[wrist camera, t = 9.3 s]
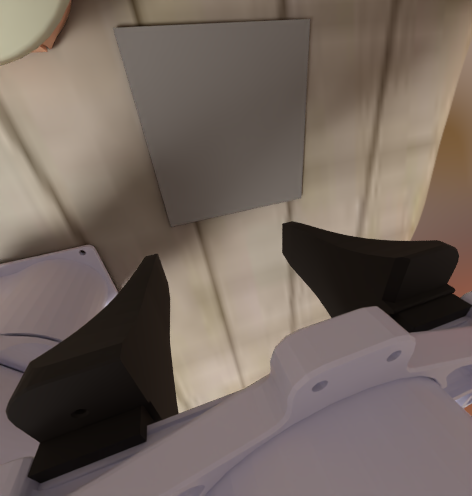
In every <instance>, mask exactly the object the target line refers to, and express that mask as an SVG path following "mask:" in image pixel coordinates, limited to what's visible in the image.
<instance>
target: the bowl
mask: <svg viewBox="0 0 472 496" xmlns="http://www.w3.org/2000/svg"><path fill="white" fill-rule="evenodd" d="M71 2H72V0H70V1H69V4H68V6H67V8H66V10H65V13H64V15H63V17H62V19H61V21H60V23H59V24H58V25H57V27H56V28H55V30H54V31H53V33H52V34H51V36H50V37H49V38H48V39H47V40H45V41H44V42H43V43H42V44H41V45H40V46H39V47H38V48H37V49H35V50H34V51H32V52H48V51H47V48H46V46H47V47H48V48H50V49H51V48H52V46H53V44H54V41H55V39H56V37H57V35H58V34H59V33H60V32H61V30H62V28H63V26H64V25H65V23H66V21H67V18H68V15H69V12H70V8H71Z"/></svg>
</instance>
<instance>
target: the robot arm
mask: <svg viewBox="0 0 472 496" xmlns="http://www.w3.org/2000/svg"><path fill="white" fill-rule="evenodd" d="M81 250H83V251H85V252H86V253H81V252H80V251H81ZM282 253H283V255H284V256H285V258H286V260H287V261H288V263H289V264H290V266H291V267H292V268H293V269H294V270H295V271H296V273H297V274H298V275H299V276H300V277H301V278H302V279H303V281H304V282H305V283H306V284H307V285H308V286H309V287H310V288H311V290H312V291H313V292H314V293H315V294H316V296H317V297H318V298H319V300H320V301H321V303H322V304H323V306H324V307H325V308H326V310H327V311H328V313H329V315H330V316H331V319H328V320H325V321H322V322H319V323H316V324H313V325H310V326H307V327H304V328H302V329H299V330H297V331H295V332H293V333H291V334H289V335H288V336H286V337H285V338H284V339H283V340H282V341H281V342H280V343H279V344H278V345H277V346H276V347H275V349H274V351H273V354H272V357H271V360H270V367H271V372H270V374H268V375H266V376H265V377H263V378H261V379H260V380H258V381H256V382H255V383H253V384H251V385H250V386H248V387H246V388H245V389H242V390H240V391H237V392H234V393H232V394H229V395H227V396H224V397H221V398H219V399H216V400H213V401H211V402H208V403H206V404H203V405H200V406H198V407H195V408H192V409H190V410H187V411H185V412H182V413H179V414H178V407H177V400H176V392H175V384H174V376H173V367H172V358H171V348H170V294H169V287H168V282H167V279H166V276H165V273H164V270H163V268H162V265H161V262H160V259H159V256H158V254H154V255H150V256H146V257H145V258H144V260H143V261H142V263H141V264H140V265H139V267H138V268H137V270H136V271H135V273H134V274H133V276H132V277H131V278H130V280H129V281H128V282H127V283H126V285H125V286H124V287H123V288H122V290H121V291H120V292H119V293H118V291H117V289H116V287H115V285H114V283H113V281H112V279H111V277H110V276H109V274H108V272H107V270H106V268H105V266H104V264H103V262H102V260H101V258H100V256H99V254H98V253H97V251H96V249H95V247H94V246H92V245H84V246H80V247H75V248H71V249H66V250H62V251H57V252H53V253H48V254H43V255H39V256H34V257H30V258H25V259H21V260H16V261H12V262H7V263H3V264H0V496H472V416H471V415H470V414H468V413H467V412H466V411H465V410H464V409H463V408H465V407H467V406H468V405H470V404H472V291H471V292H468V293H466V294H464V295H463V296H462V297H461V298H459V297H457V296H456V295H454V294H452V293H454V292H455V289H454V288H453V287H451V286H449V285H448V284H447V283H448V281H449V279H450V277H451V275H452V273H453V271H454V269H455V268H456V265H457V263H458V258H459V254H458V251H457V249H456V248H455V247H453V246H451V245H448V244H446V243H444V242H441V241H437V240H436V241H435V240H434V241H390V240H376V239H367V238H359V237H353V236H348V235H343V234H338V233H334V232H330V231H326V230H323V229H319V228H316V227H312V226H309V225H305V224H302V223H298V222H288V223H283V224H282Z"/></svg>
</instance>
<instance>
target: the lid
mask: <svg viewBox="0 0 472 496" xmlns="http://www.w3.org/2000/svg"><path fill="white" fill-rule="evenodd" d="M69 1H70V0H0V65H5V64H8V63H10V62H13V61H15V60H18V59H20V58H23V57H24V56H26V55H27V54H29V53H31V52H32V51H34V50H35V49H37V48H38V47H39V46H40V45H41V44H42V43H43V42H44V41H45V40H47V39H48V38H49V37H50V36H51V34H52V33H53V31H54V30H55V28H56V27H57V25H58V24H59V23H60V21H61V19H62V17H63V15H64V13H65V10H66V8H67V6H68V4H69Z"/></svg>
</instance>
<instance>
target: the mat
mask: <svg viewBox="0 0 472 496" xmlns="http://www.w3.org/2000/svg"><path fill="white" fill-rule="evenodd" d="M113 30H114V33H115V37H116V40H117V44H118V47H119V50H120V54H121V57H122V61H123V64H124V68H125V71H126V74H127V78H128V81H129V85H130V88H131V92H132V95H133V98H134V102H135V105H136V109H137V112H138V116H139V119H140V122H141V126H142V129H143V133H144V136H145V140H146V143H147V146H148V150H149V153H150V157H151V160H152V164H153V167H154V170H155V174H156V177H157V181H158V184H159V188H160V191H161V194H162V198H163V201H164V205H165V208H166V212H167V215H168V218H169V222H170V225H171V227H173V226H178V225H182V224H187V223H191V222H196V221H200V220H205V219H209V218H214V217H218V216H223V215H227V214H232V213H236V212H241V211H245V210H250V209H254V208H259V207H263V206H268V205H272V204H277V203H281V202H286V201H290V200H295V199H299V198H301V193H302V173H303V153H304V133H305V113H306V93H307V73H308V53H309V33H310V19H296V20H274V21H252V22H230V23H208V24H186V25H164V26H142V27H120V28H113Z"/></svg>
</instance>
